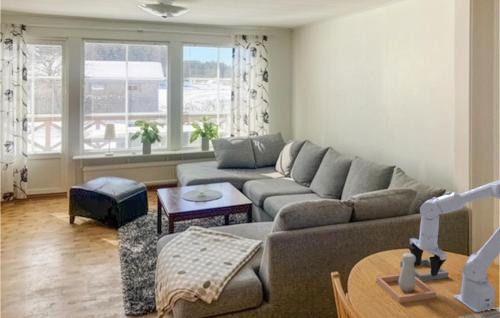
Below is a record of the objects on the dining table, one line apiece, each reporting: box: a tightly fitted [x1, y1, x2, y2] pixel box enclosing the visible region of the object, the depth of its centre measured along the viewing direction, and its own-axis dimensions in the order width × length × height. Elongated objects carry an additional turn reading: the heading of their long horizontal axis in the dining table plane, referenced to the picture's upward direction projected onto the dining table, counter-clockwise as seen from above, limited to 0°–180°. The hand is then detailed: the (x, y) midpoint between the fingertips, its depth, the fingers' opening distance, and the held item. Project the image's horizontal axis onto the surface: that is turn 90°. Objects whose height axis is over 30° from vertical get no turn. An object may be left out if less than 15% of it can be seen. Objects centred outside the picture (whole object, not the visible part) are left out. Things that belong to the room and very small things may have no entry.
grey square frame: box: [400, 258, 449, 282], centre depth 146 cm, size 12×12×2 cm
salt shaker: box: [397, 252, 417, 293], centre depth 132 cm, size 6×6×13 cm
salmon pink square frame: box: [375, 273, 437, 304], centre depth 133 cm, size 14×14×2 cm
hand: (425, 270), depth 134 cm, fingers open, 7 cm apart
